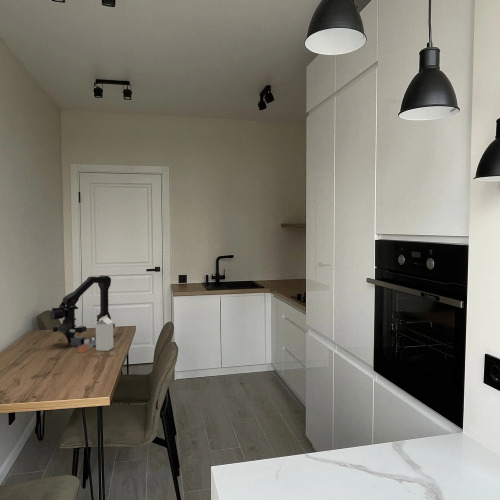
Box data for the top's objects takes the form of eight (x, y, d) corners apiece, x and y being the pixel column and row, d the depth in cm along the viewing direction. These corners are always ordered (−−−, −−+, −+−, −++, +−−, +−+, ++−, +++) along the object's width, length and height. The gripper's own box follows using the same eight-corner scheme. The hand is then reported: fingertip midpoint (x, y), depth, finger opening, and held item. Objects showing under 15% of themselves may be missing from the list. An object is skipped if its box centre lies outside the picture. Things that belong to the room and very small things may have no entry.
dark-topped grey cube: (75, 344, 242) (75, 335, 242) (85, 344, 241) (84, 336, 241) (70, 346, 237) (70, 337, 237) (80, 346, 236) (80, 338, 236)
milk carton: (113, 347, 234) (113, 315, 234) (108, 351, 227) (107, 317, 226) (101, 347, 235) (101, 315, 234) (95, 350, 228) (95, 317, 227)
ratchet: (87, 344, 241) (87, 335, 241) (99, 344, 240) (99, 335, 240) (71, 352, 225) (71, 342, 225) (84, 352, 224) (84, 343, 224)
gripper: (46, 319, 233) (46, 346, 233) (76, 320, 230) (76, 347, 231) (58, 315, 244) (58, 341, 244) (87, 316, 241) (87, 342, 242)
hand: (69, 343), depth 240 cm, fingers closed
